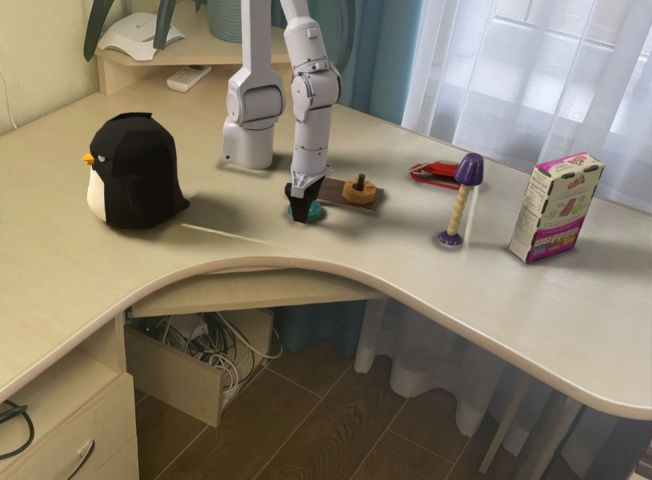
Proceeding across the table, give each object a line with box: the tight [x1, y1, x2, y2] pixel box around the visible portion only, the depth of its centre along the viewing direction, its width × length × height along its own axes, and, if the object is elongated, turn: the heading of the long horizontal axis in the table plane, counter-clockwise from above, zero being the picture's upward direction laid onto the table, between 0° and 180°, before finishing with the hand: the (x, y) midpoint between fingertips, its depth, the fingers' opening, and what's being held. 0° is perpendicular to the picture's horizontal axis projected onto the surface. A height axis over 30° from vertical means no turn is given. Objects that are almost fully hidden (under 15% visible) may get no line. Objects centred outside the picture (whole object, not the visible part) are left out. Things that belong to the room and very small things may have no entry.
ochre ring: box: [343, 177, 378, 204], centre depth 137 cm, size 6×6×2 cm
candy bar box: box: [507, 151, 606, 264], centre depth 123 cm, size 11×5×16 cm, turn 117°
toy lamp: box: [437, 152, 485, 246], centre depth 123 cm, size 5×5×17 cm
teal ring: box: [287, 200, 323, 223], centre depth 132 cm, size 6×6×2 cm
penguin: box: [81, 111, 191, 232], centre depth 125 cm, size 18×18×17 cm
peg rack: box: [317, 173, 385, 212], centre depth 137 cm, size 16×8×5 cm, turn 73°
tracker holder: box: [407, 160, 461, 191], centre depth 143 cm, size 12×4×10 cm
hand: (304, 212), depth 133 cm, fingers closed on teal ring, 6 cm apart
